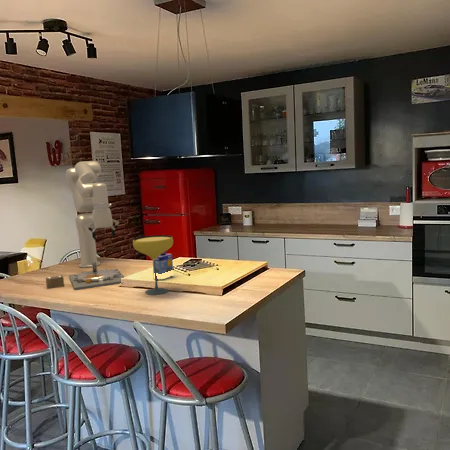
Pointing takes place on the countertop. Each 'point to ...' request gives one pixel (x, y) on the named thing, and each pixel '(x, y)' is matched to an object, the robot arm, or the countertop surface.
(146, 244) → the cocktail glass
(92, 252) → the robot arm
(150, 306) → the countertop surface
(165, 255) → the ink cartridge box
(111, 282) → the sprocket base
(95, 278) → the sprocket
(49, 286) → the brown rectangular block
